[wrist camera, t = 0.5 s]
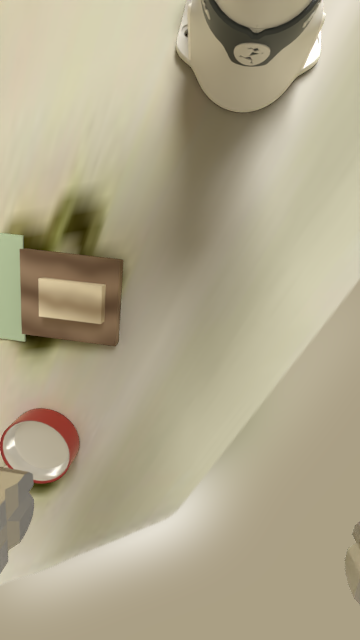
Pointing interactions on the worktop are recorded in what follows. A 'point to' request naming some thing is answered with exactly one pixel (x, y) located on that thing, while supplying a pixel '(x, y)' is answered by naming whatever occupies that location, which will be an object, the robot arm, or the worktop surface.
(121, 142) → the worktop surface
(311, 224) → the worktop surface
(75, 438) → the red saucepan
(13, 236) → the green mat
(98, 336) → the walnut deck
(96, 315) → the birch tile
